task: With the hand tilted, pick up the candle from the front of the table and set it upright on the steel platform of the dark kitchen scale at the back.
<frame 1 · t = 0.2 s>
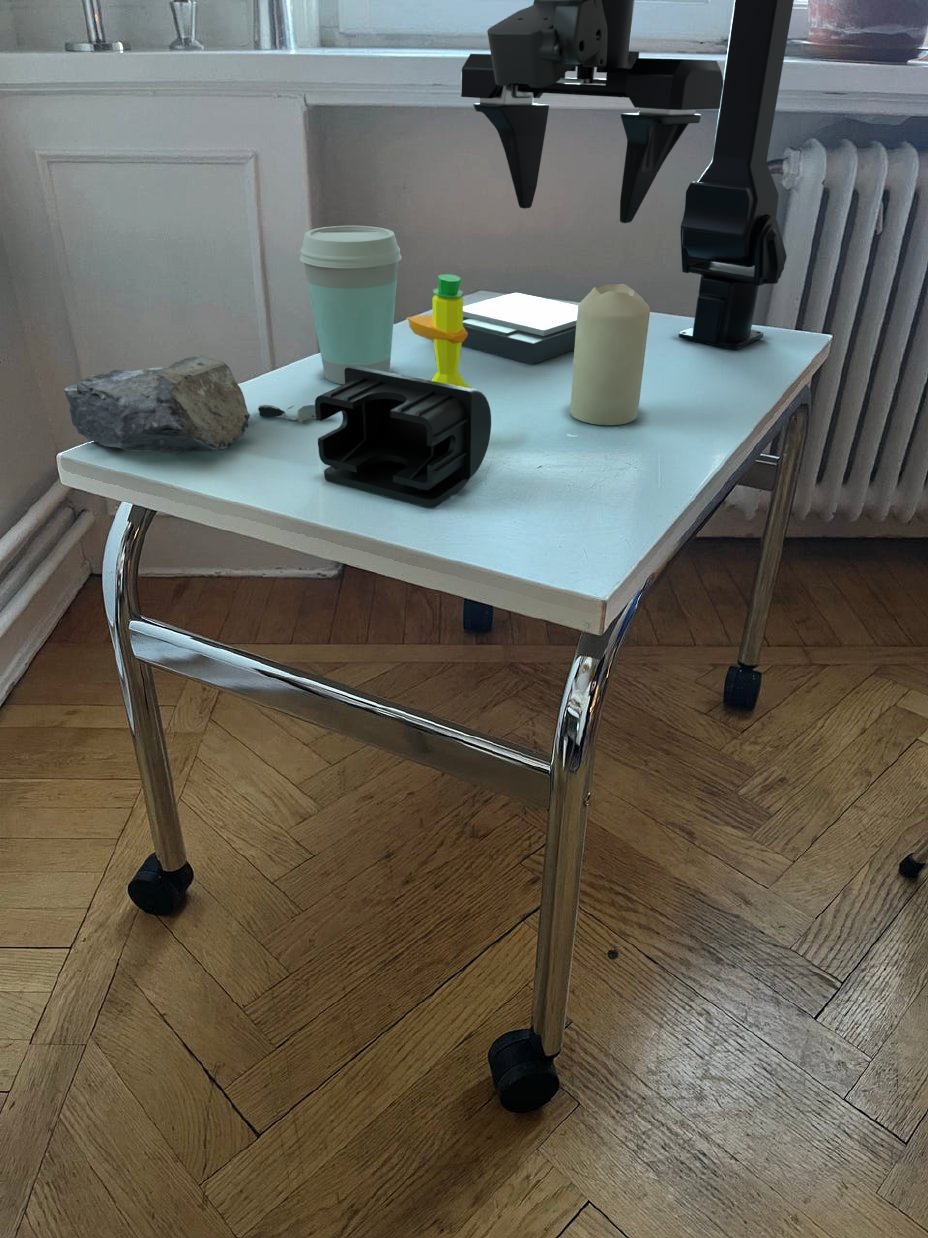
hand: (573, 214, 68), 15 cm above the table, tool pointing down, fingers open, 9 cm apart
toy: (273, 419, 71), on the table
end cap: (404, 479, 64), on the table
rock: (122, 459, 67), on the table
coffee cup: (357, 377, 82), on the table
scale: (521, 337, 93), on the table
toy figure: (441, 440, 70), on the table
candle: (603, 416, 75), on the table
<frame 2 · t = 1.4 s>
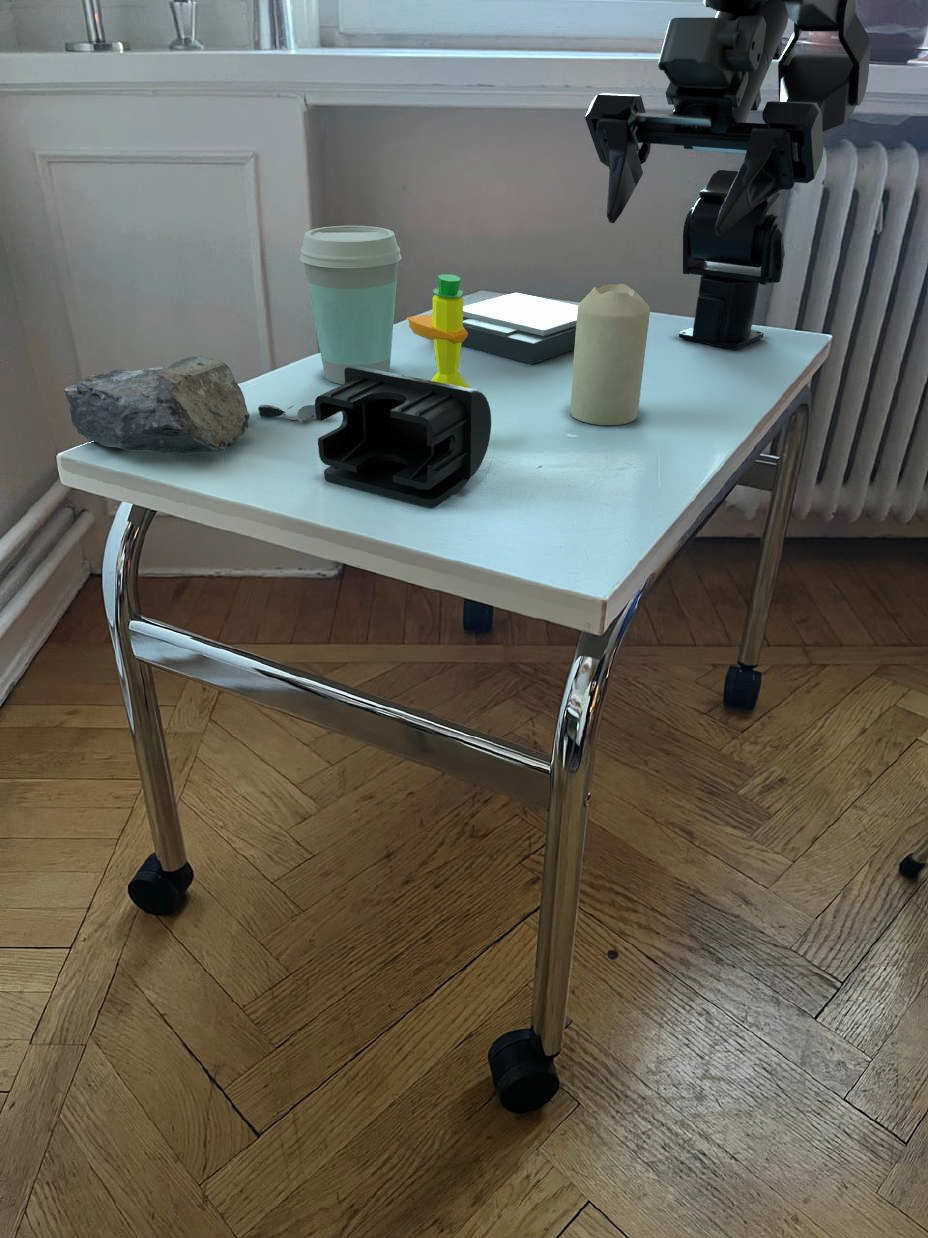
hand: (662, 225, 73), 13 cm above the table, tool tilted 45°, fingers open, 9 cm apart
nothing on the table moved.
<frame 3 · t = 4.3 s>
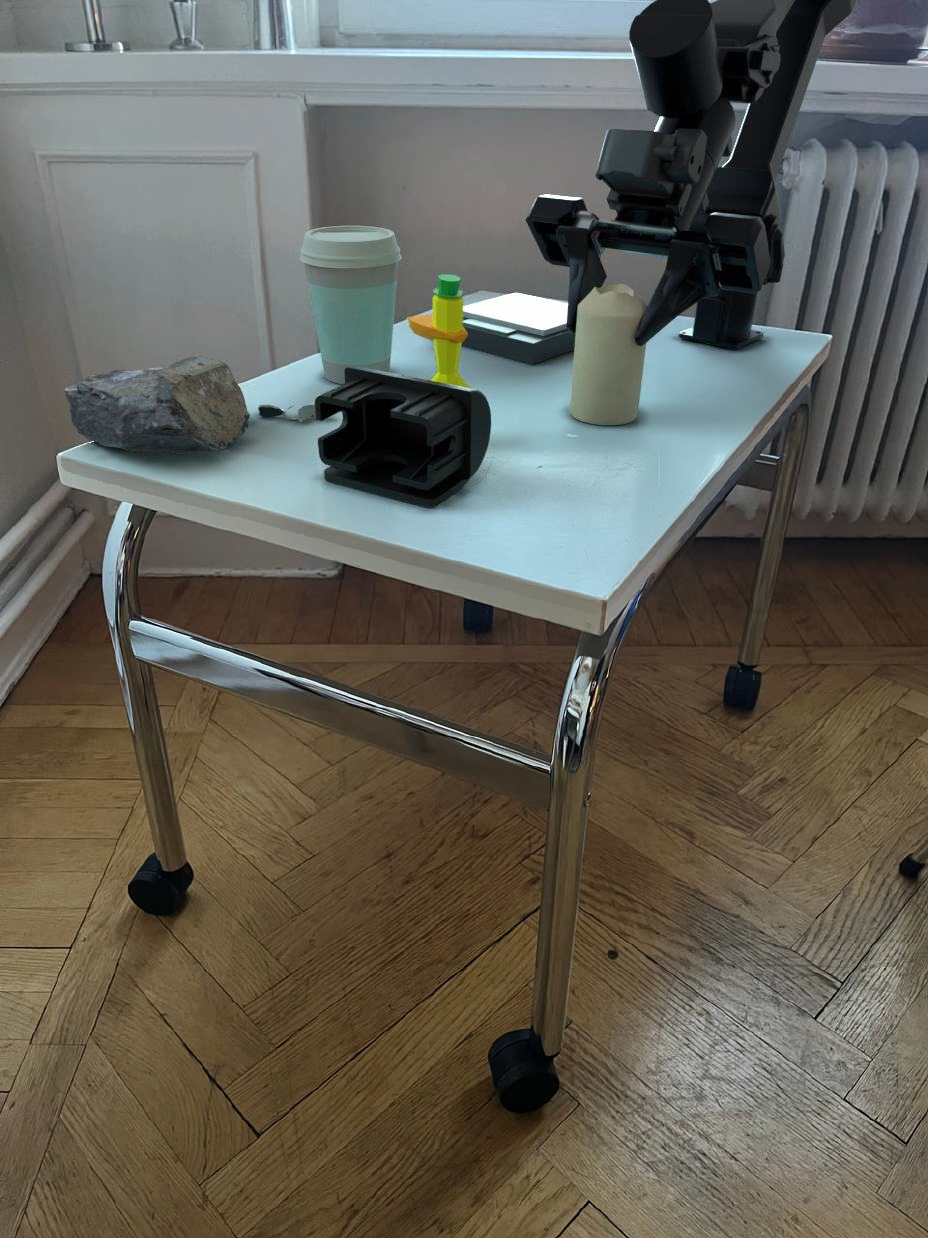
hand: (603, 336, 70), 7 cm above the table, tool tilted 45°, fingers closed on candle, 5 cm apart
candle: (603, 416, 75), on the table, touching gripper
everything else where it was.
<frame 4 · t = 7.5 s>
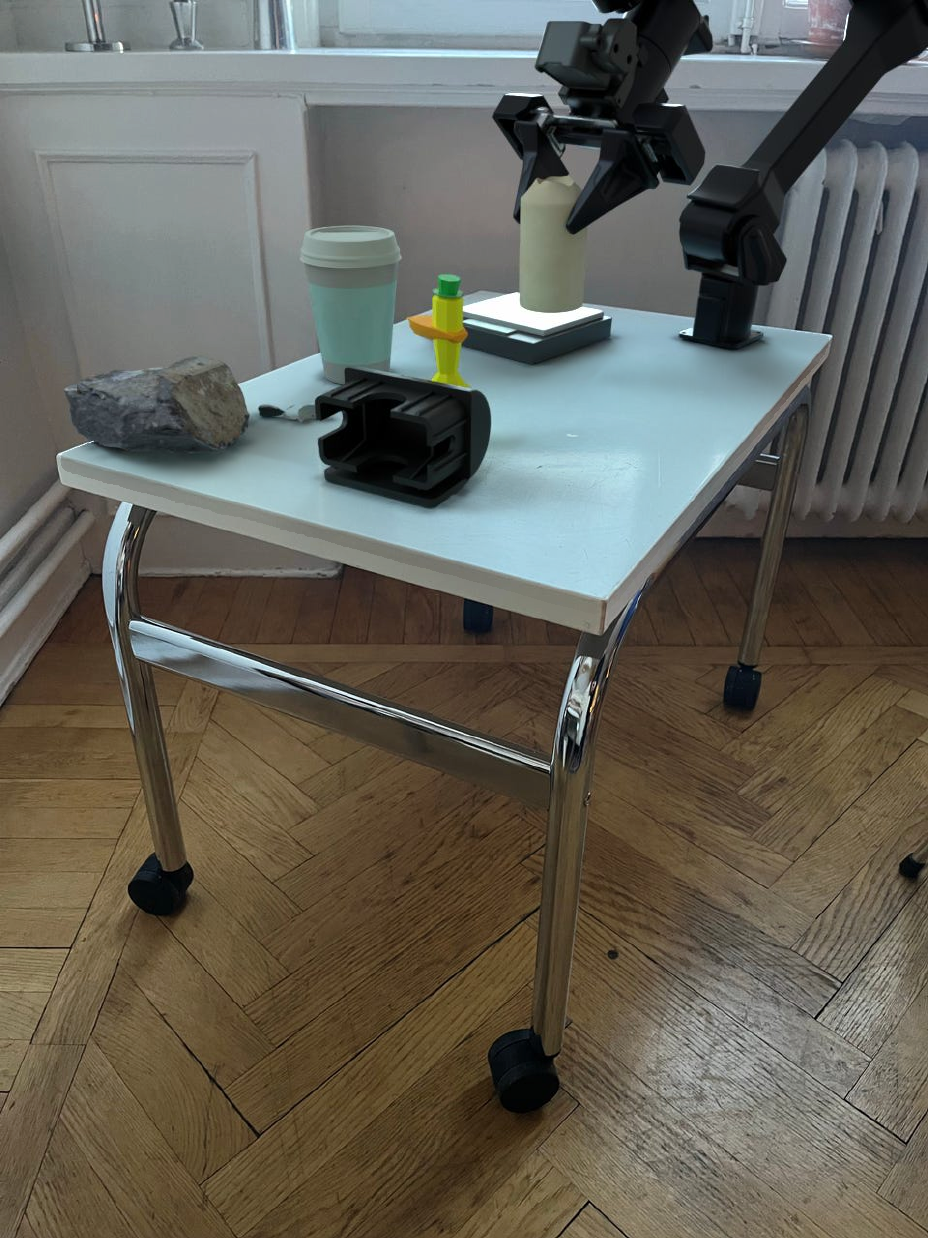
hand: (542, 225, 74), 13 cm above the table, tool tilted 45°, fingers closed on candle, 5 cm apart
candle: (550, 307, 79), point 6 cm above the table, touching gripper
everything else where it was.
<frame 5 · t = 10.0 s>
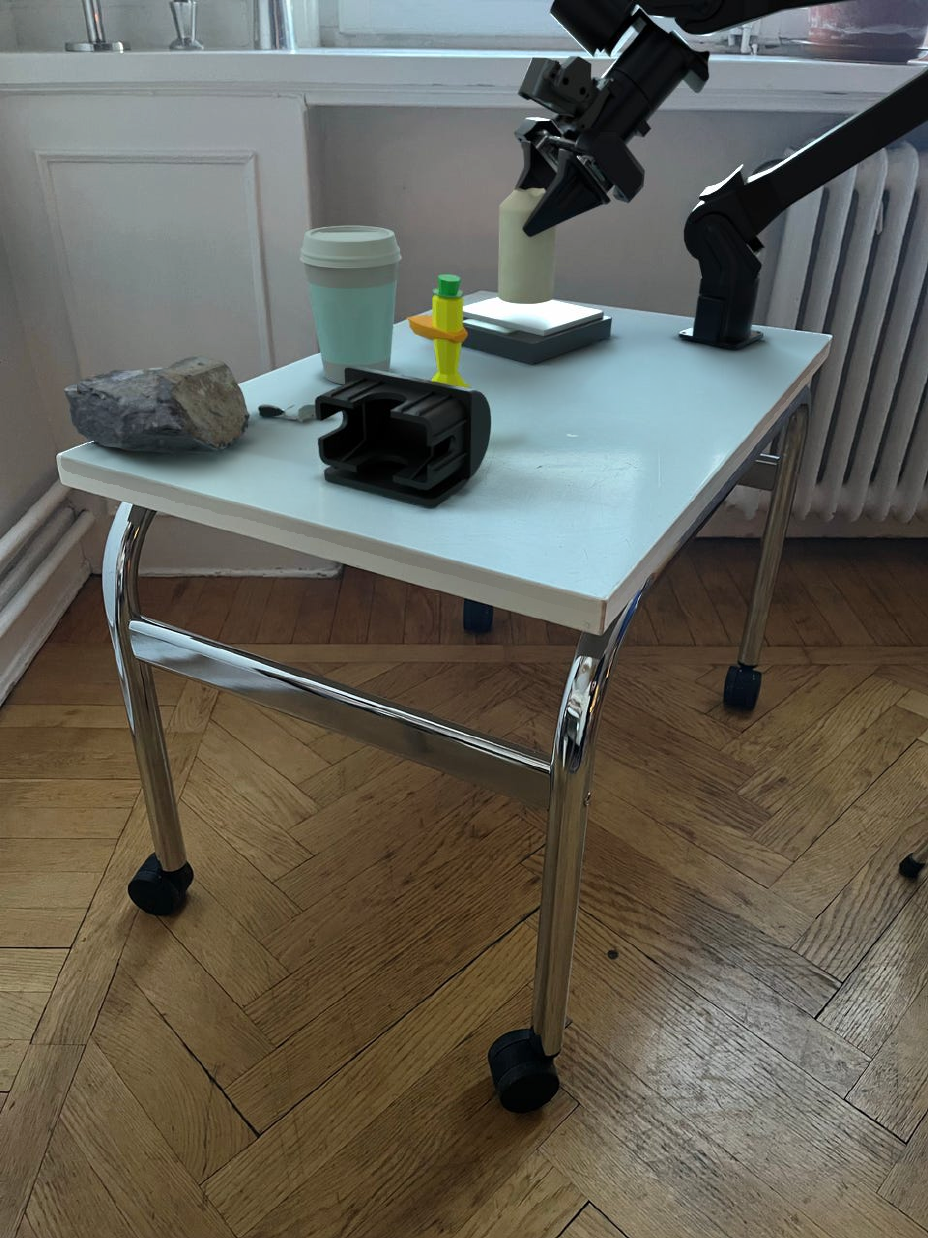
hand: (514, 228, 87), 10 cm above the table, tool tilted 45°, fingers closed on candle, 5 cm apart
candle: (525, 300, 91), point 4 cm above the table, touching gripper
everything else where it was.
when the fingers open (9 cm above the table, at t = 10.9 s): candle stays where it is, resting on scale.
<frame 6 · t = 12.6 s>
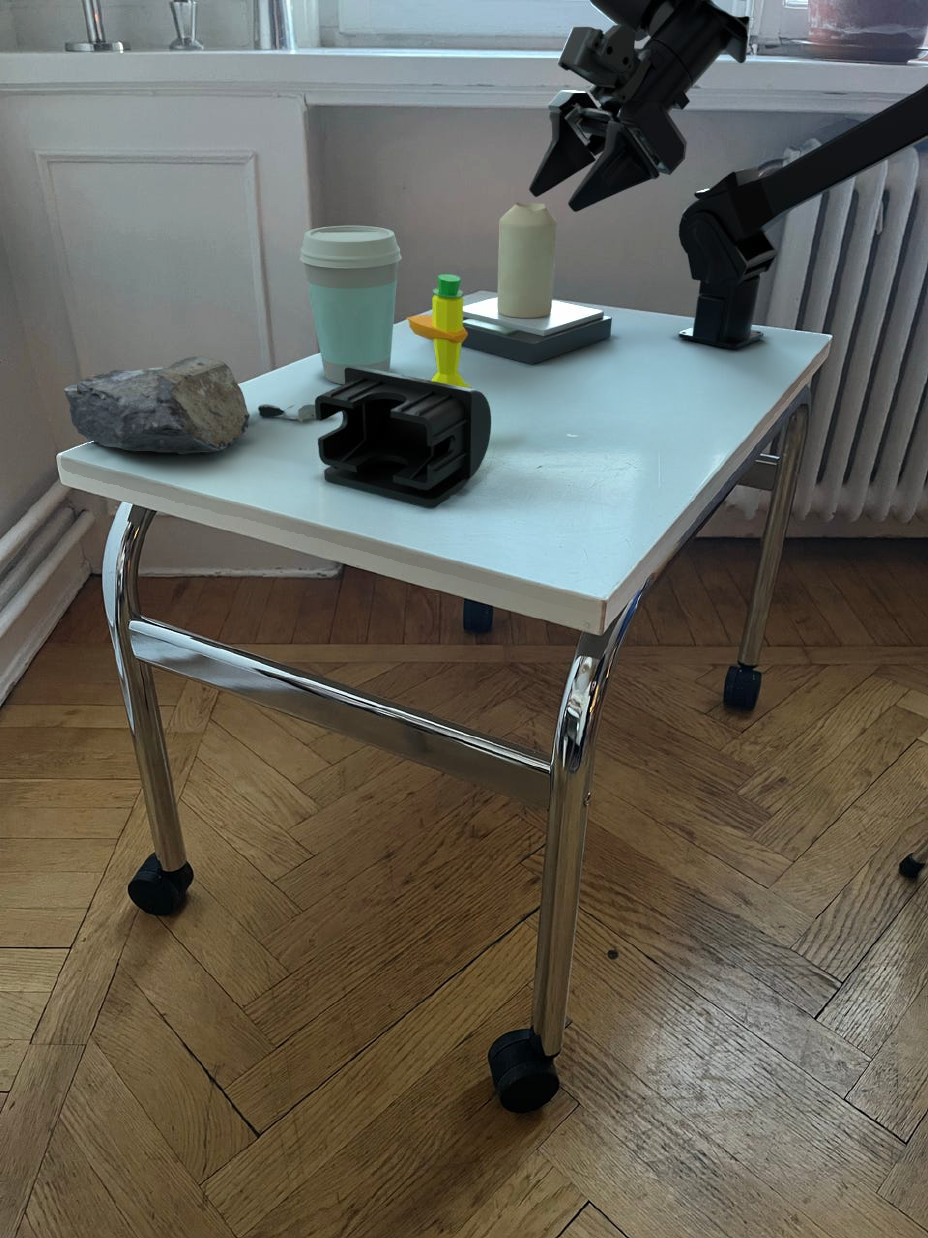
hand: (550, 200, 87), 13 cm above the table, tool tilted 45°, fingers open, 9 cm apart
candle: (524, 313, 92), point 2 cm above the table, touching scale
everything else where it was.
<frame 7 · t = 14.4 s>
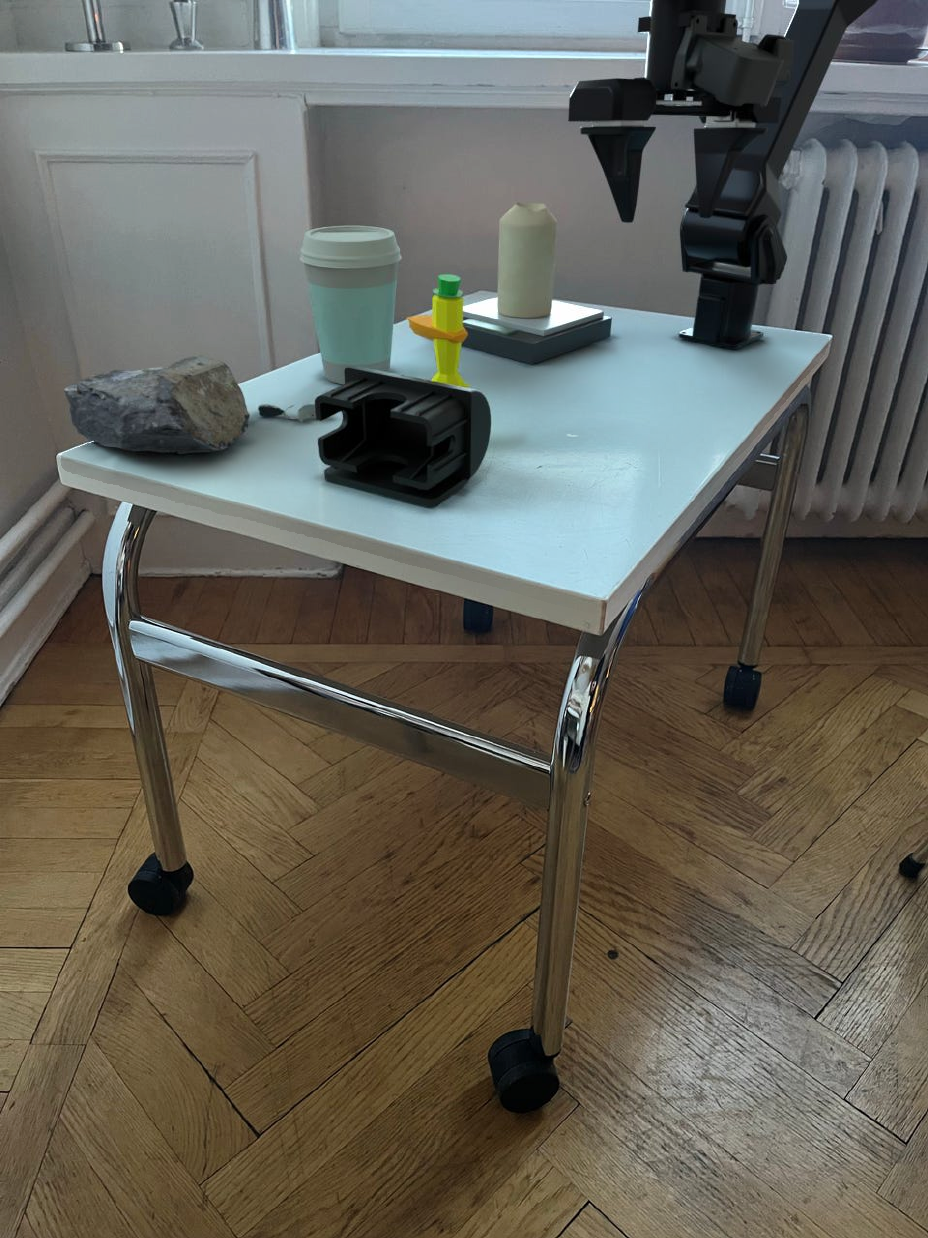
hand: (667, 219, 78), 13 cm above the table, tool pointing down, fingers open, 9 cm apart
nothing on the table moved.
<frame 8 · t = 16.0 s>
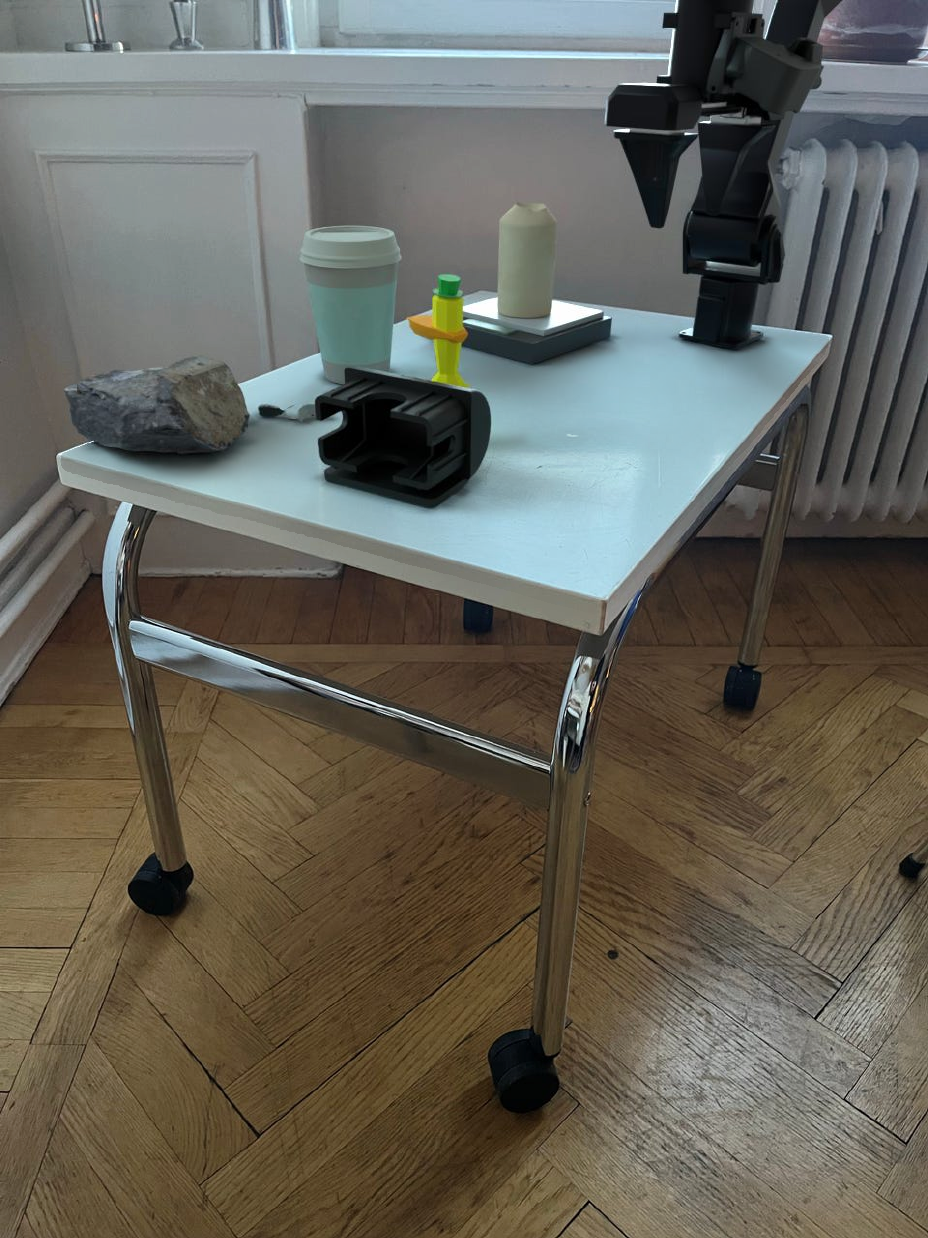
hand: (686, 220, 77), 13 cm above the table, tool pointing down, fingers open, 9 cm apart
nothing on the table moved.
at the end: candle inside the target area on the scale (0.2 cm from its centre), point 2.4 cm above the scale's base; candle tilted 0°; the gripper is holding nothing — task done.
